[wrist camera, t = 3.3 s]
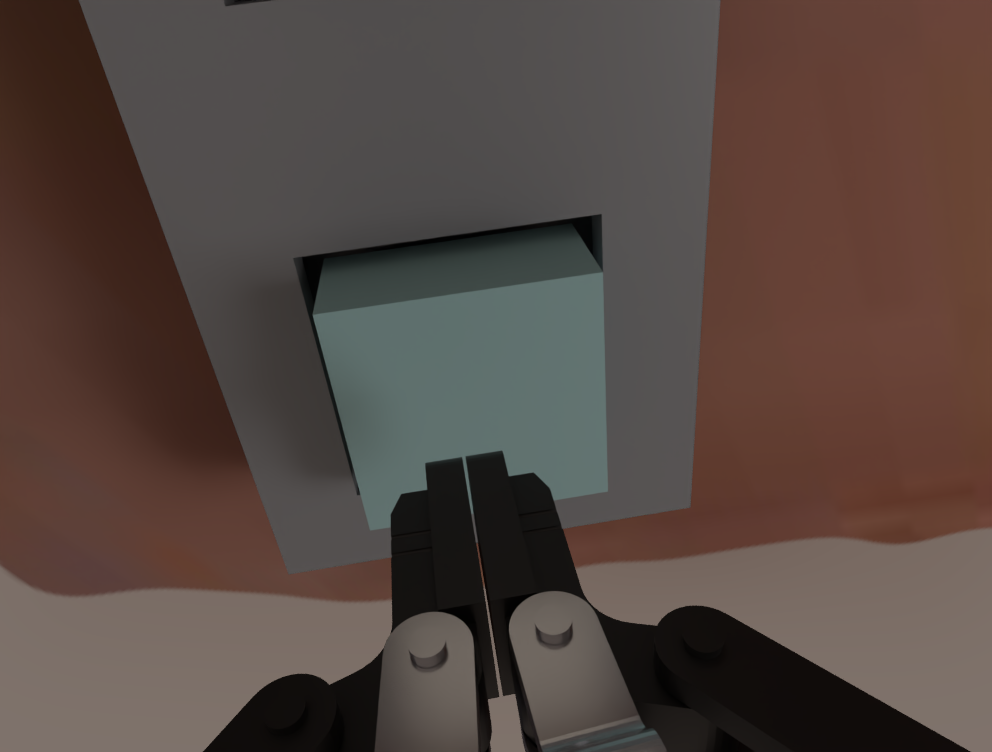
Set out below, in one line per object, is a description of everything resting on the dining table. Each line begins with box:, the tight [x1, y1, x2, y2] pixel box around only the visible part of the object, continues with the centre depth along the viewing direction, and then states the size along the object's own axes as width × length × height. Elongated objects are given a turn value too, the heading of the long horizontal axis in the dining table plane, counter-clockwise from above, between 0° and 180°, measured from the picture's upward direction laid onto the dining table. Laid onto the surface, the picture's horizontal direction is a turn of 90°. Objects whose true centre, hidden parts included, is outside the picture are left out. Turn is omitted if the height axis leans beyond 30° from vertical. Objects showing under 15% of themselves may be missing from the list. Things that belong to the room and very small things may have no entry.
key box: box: [79, 0, 720, 574], centre depth 17 cm, size 12×24×5 cm, turn 6°
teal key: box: [313, 223, 608, 531], centre depth 17 cm, size 6×6×3 cm
